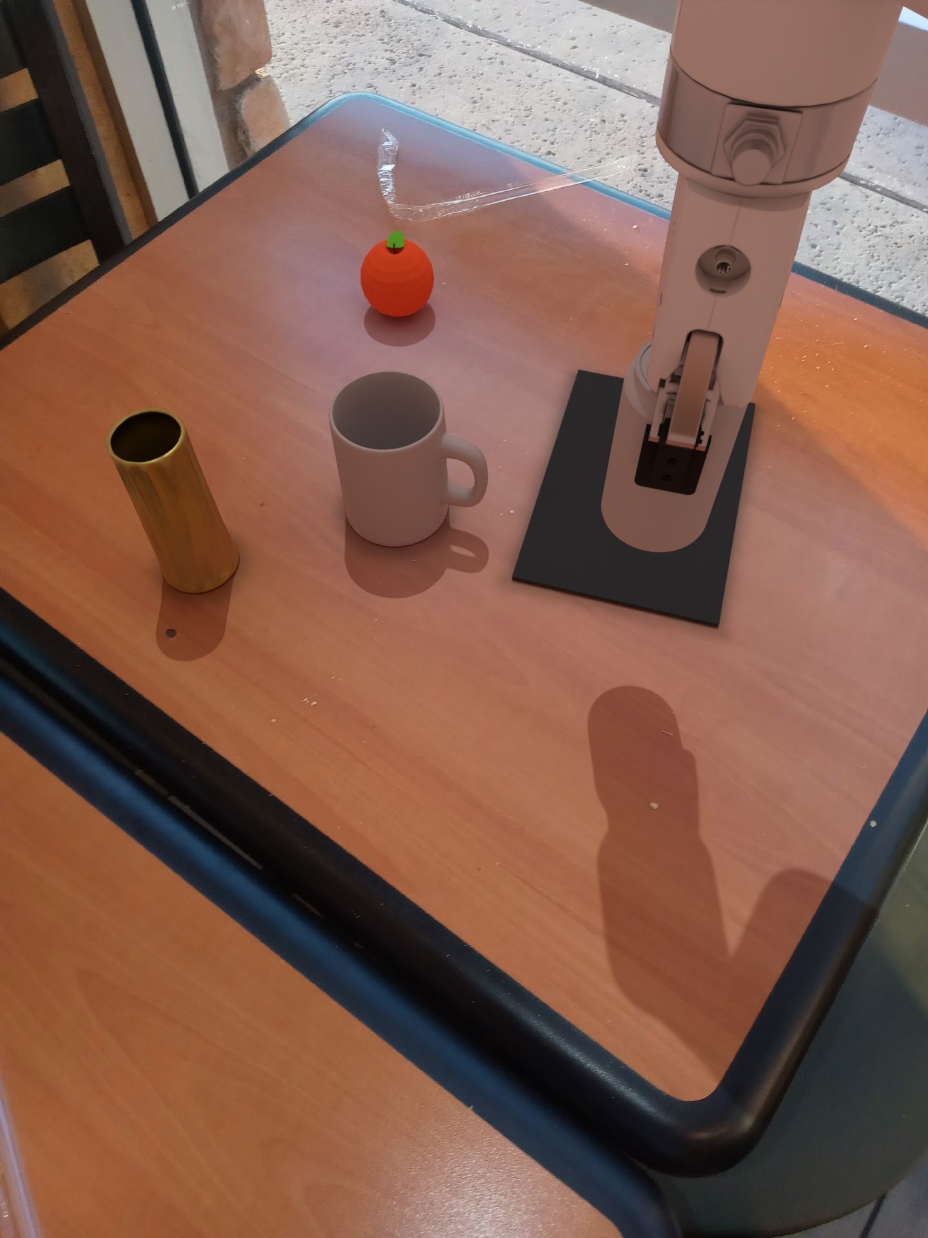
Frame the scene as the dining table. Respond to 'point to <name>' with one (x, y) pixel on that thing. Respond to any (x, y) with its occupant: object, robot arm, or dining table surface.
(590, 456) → the mat
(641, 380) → the beverage can
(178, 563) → the vase
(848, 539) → the dining table surface
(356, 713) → the dining table surface
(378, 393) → the mug
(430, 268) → the clementine
